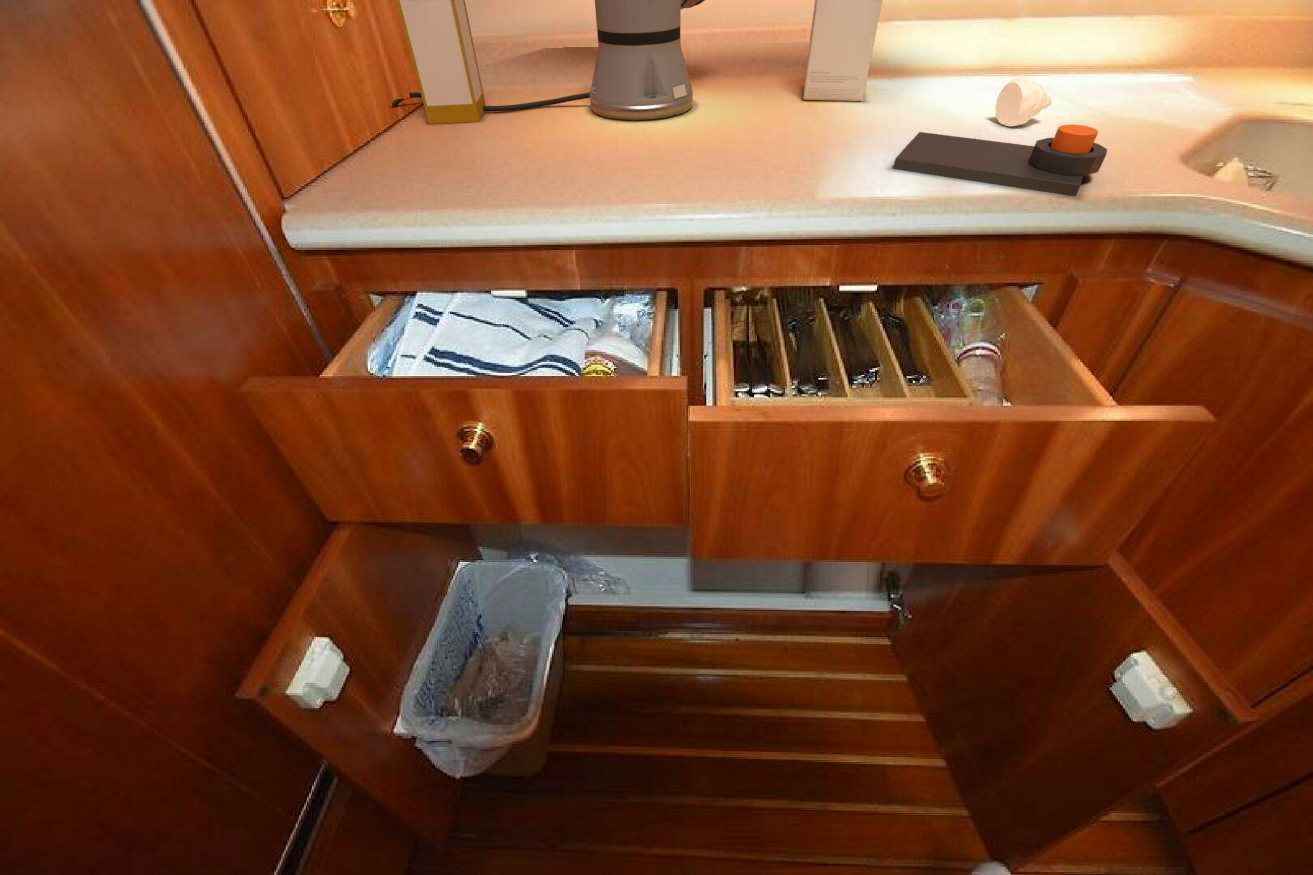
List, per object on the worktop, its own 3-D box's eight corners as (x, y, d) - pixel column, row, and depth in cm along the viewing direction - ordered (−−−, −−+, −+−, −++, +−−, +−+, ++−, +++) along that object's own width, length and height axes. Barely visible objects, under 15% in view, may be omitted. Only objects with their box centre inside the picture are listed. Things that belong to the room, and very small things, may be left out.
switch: (1047, 153, 60) (1056, 131, 59) (1051, 143, 63) (1059, 122, 61) (1087, 158, 59) (1097, 136, 58) (1089, 148, 61) (1099, 126, 60)
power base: (892, 169, 65) (899, 140, 63) (916, 142, 72) (923, 115, 70) (1089, 199, 58) (1104, 167, 56) (1095, 165, 65) (1109, 136, 63)
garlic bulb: (1054, 127, 75) (1074, 78, 72) (1015, 132, 74) (1032, 83, 70) (1024, 116, 79) (1041, 69, 75) (986, 120, 78) (1001, 73, 74)
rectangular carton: (864, 102, 86) (889, -27, 76) (802, 101, 88) (818, -26, 78) (861, 87, 93) (883, -33, 83) (803, 86, 94) (818, -32, 84)
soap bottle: (420, 135, 80) (355, -98, 64) (439, 110, 89) (386, -99, 73) (473, 132, 80) (421, -101, 64) (486, 108, 90) (444, -101, 74)
